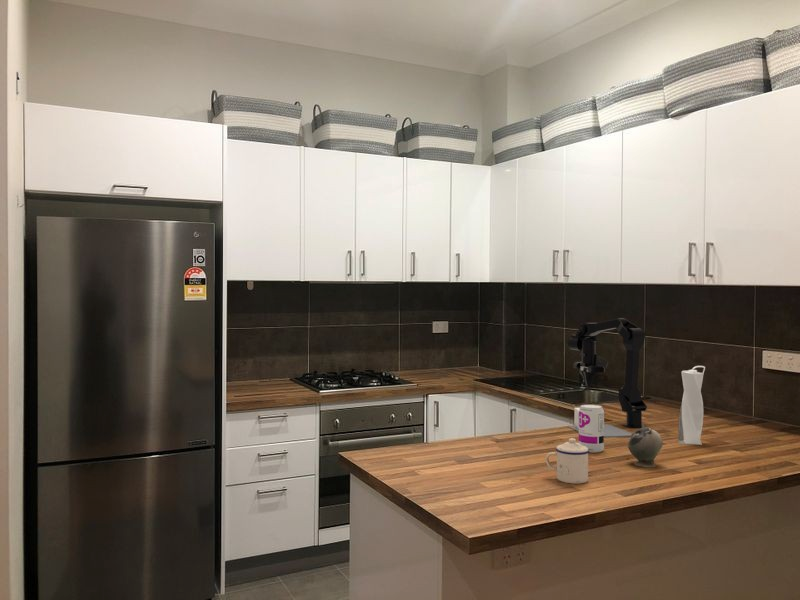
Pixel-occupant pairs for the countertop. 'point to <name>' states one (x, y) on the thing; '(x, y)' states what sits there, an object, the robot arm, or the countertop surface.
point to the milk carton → (576, 417)
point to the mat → (610, 431)
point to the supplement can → (591, 427)
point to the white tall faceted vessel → (691, 408)
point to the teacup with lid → (571, 462)
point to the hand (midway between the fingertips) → (588, 386)
